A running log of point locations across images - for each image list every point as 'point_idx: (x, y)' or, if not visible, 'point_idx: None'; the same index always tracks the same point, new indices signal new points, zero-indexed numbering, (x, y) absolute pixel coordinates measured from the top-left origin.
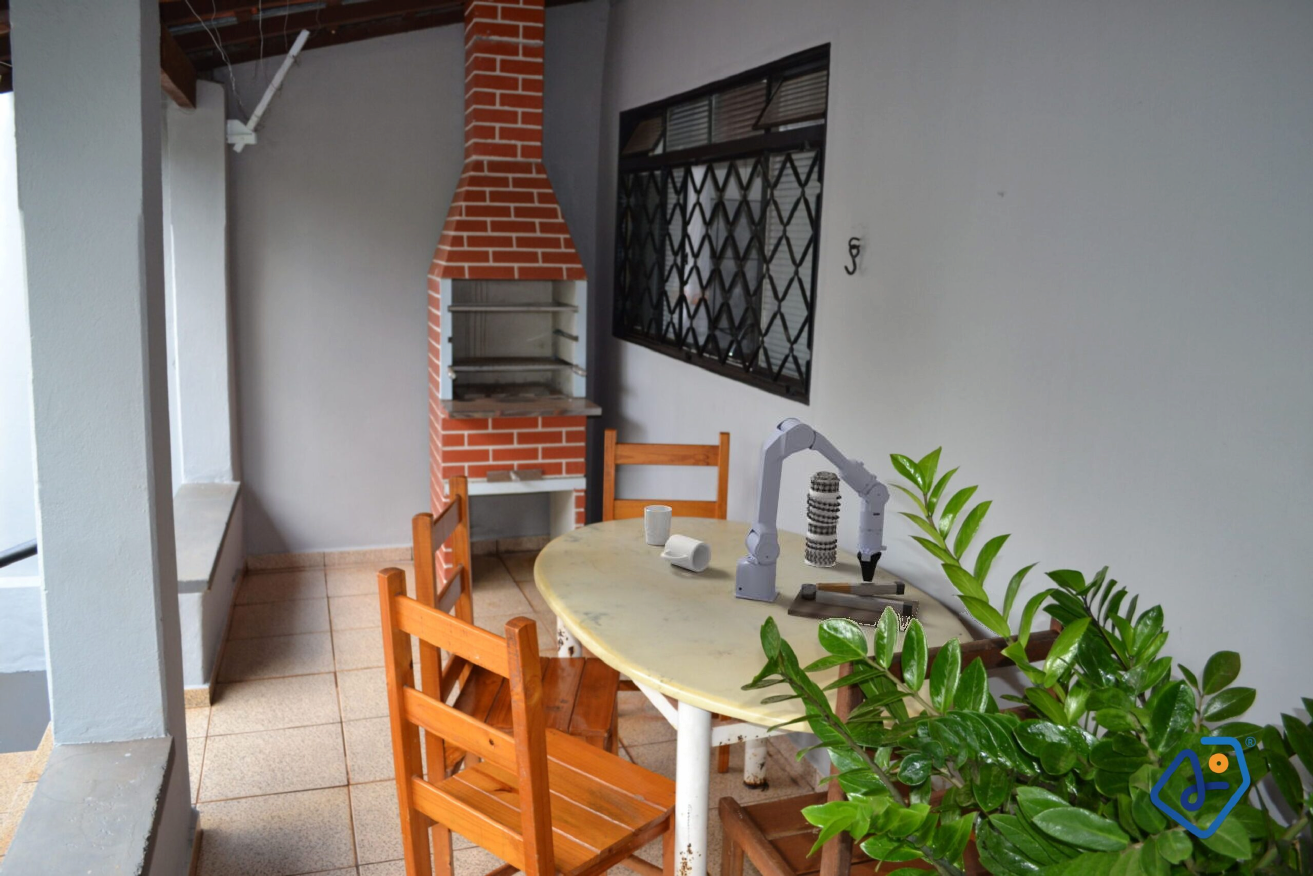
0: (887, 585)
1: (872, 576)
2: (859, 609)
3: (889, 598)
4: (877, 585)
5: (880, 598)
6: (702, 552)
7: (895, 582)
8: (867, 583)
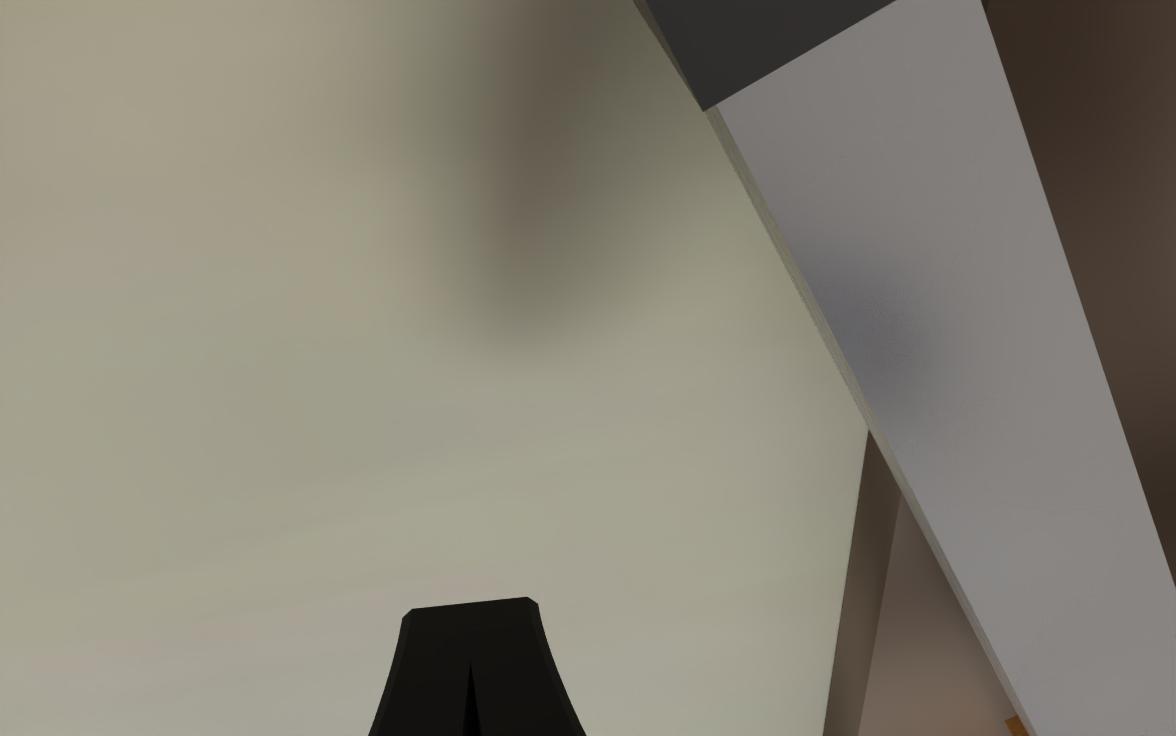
0: (1044, 235)
1: (570, 704)
2: None
3: (1057, 22)
4: (1124, 457)
5: (1099, 212)
6: None
7: (785, 47)
8: (1055, 658)
